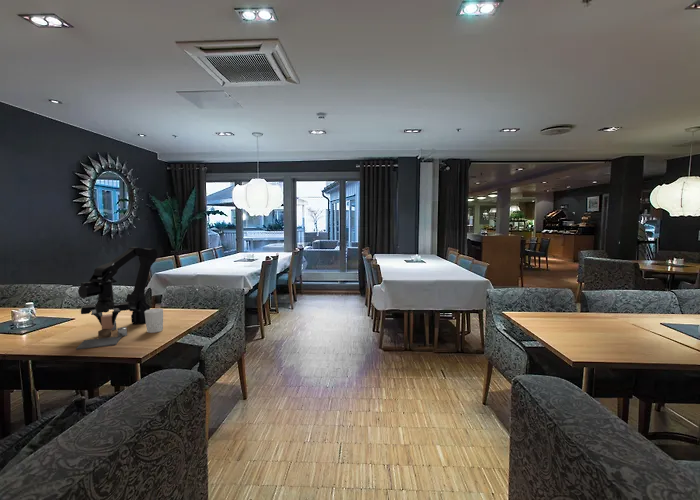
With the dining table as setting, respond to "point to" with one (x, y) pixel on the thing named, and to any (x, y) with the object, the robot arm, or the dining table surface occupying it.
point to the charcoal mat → (99, 342)
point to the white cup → (154, 320)
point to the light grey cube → (122, 331)
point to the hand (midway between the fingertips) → (107, 325)
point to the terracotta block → (107, 321)
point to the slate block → (114, 326)
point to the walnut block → (104, 333)
